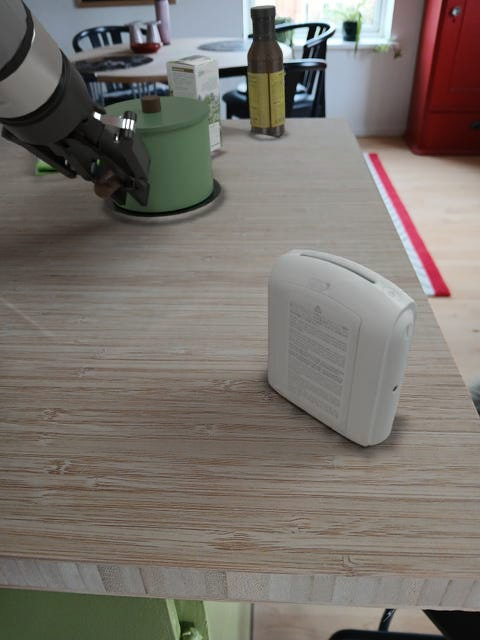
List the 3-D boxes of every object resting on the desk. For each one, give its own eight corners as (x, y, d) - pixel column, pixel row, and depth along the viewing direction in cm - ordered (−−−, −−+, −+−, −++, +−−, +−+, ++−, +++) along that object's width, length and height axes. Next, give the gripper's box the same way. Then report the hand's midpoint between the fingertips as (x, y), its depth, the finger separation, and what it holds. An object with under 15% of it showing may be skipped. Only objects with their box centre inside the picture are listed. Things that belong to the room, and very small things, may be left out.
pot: (134, 169, 78) (119, 83, 71) (227, 173, 75) (221, 84, 68) (53, 245, 59) (22, 139, 52) (173, 255, 56) (157, 143, 49)
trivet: (81, 209, 70) (79, 202, 69) (156, 170, 81) (155, 164, 80) (174, 234, 63) (173, 226, 62) (242, 187, 73) (242, 181, 73)
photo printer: (404, 423, 37) (436, 278, 30) (370, 459, 35) (396, 310, 27) (294, 360, 43) (298, 226, 36) (259, 387, 41) (256, 249, 33)
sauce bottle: (282, 128, 95) (283, 2, 83) (287, 138, 90) (288, 6, 78) (248, 130, 95) (243, 5, 83) (250, 141, 90) (246, 9, 78)
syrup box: (196, 146, 89) (188, 53, 80) (224, 152, 86) (218, 56, 77) (175, 156, 85) (163, 60, 77) (202, 162, 82) (194, 63, 74)
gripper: (-74, 121, 40) (72, 221, 63) (105, 124, 38) (190, 228, 61) (-56, 34, 41) (82, 164, 64) (120, 31, 39) (198, 168, 61)
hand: (134, 195), depth 62 cm, fingers closed on pot, 2 cm apart
